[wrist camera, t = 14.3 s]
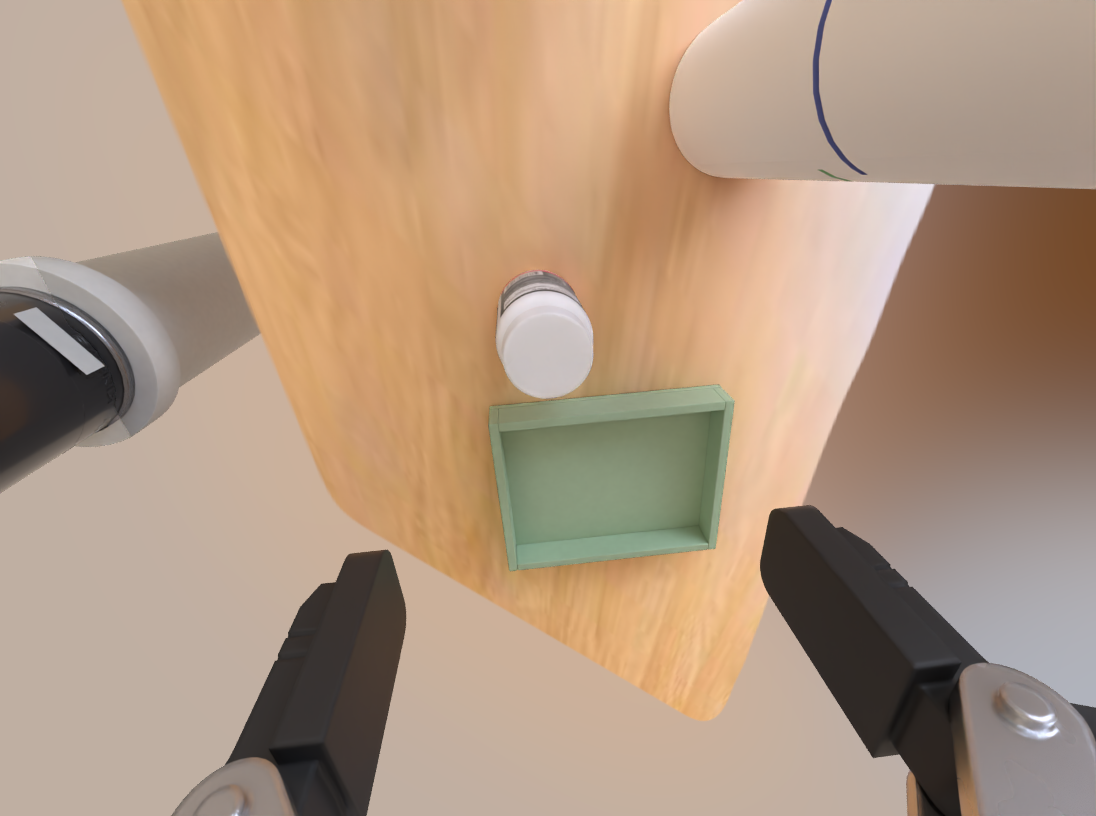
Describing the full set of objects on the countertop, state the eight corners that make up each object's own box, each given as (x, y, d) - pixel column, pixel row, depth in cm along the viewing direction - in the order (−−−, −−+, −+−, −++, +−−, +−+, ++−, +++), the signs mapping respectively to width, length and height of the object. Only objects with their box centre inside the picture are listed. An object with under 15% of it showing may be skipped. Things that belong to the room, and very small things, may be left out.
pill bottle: (561, 355, 29) (581, 419, 22) (488, 334, 28) (481, 393, 21) (588, 282, 27) (619, 324, 20) (510, 256, 26) (512, 290, 19)
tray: (509, 546, 36) (509, 571, 34) (489, 406, 30) (488, 424, 28) (703, 526, 36) (715, 549, 34) (718, 384, 31) (735, 400, 29)
